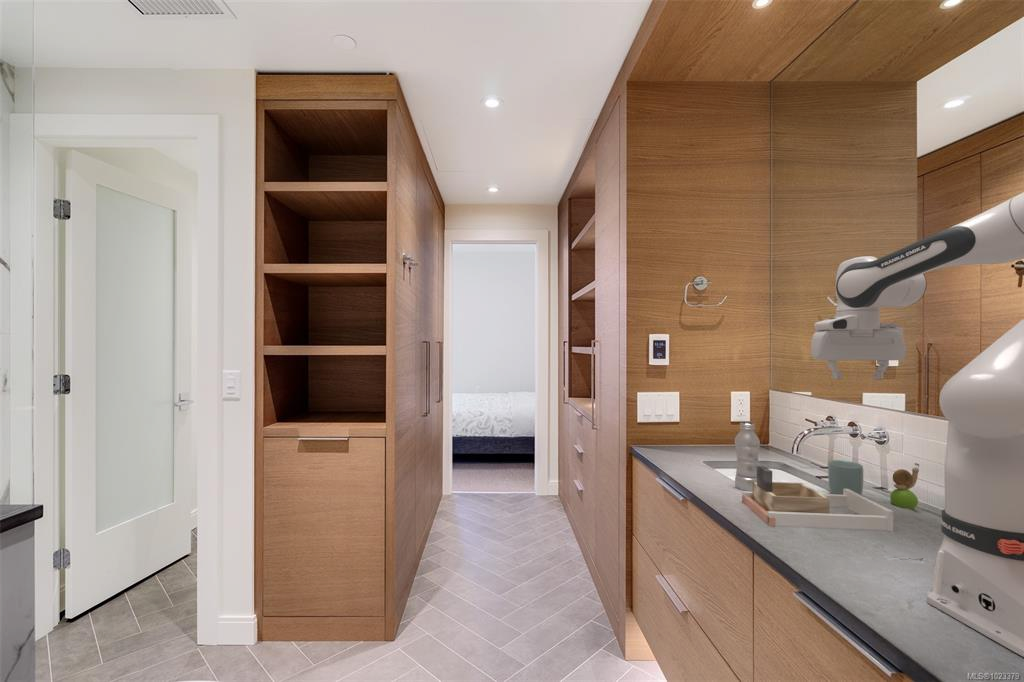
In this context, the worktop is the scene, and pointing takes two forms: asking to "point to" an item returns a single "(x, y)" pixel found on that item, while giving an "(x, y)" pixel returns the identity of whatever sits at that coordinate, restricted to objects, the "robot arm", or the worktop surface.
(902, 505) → the snail figurine
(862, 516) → the white tray
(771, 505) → the drawer
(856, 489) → the cup
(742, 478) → the plastic bottle
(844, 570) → the worktop surface
